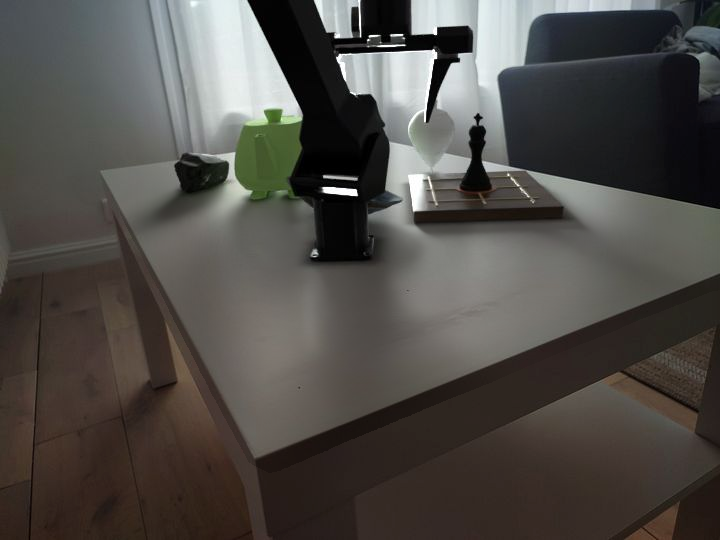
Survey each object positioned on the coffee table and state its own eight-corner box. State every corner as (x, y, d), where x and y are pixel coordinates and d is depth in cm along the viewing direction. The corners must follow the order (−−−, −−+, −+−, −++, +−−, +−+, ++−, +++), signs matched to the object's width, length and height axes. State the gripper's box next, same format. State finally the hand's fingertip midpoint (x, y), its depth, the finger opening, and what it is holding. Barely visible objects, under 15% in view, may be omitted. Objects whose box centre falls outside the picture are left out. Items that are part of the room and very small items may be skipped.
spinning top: (463, 173, 88) (465, 98, 84) (425, 180, 85) (425, 103, 80) (436, 166, 95) (436, 96, 90) (400, 172, 91) (398, 100, 87)
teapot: (312, 208, 73) (303, 115, 68) (219, 210, 75) (204, 119, 70) (333, 176, 92) (327, 100, 87) (258, 178, 93) (248, 103, 88)
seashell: (276, 236, 63) (272, 195, 61) (292, 206, 75) (288, 171, 73) (404, 231, 63) (404, 189, 61) (400, 202, 74) (399, 166, 72)
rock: (162, 186, 90) (155, 152, 88) (207, 176, 96) (202, 144, 94) (192, 196, 84) (186, 160, 81) (239, 184, 89) (234, 150, 87)
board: (562, 218, 64) (564, 205, 63) (413, 222, 65) (413, 210, 65) (524, 179, 82) (525, 169, 82) (408, 184, 84) (408, 174, 83)
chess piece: (476, 182, 76) (478, 110, 72) (498, 187, 72) (502, 112, 69) (452, 187, 74) (453, 113, 70) (474, 193, 70) (477, 115, 66)
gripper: (464, -21, 63) (460, 114, 69) (310, -12, 65) (319, 119, 71) (476, -36, 53) (470, 124, 59) (293, -25, 55) (305, 130, 60)
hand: (387, 124), depth 62 cm, fingers open, 9 cm apart
